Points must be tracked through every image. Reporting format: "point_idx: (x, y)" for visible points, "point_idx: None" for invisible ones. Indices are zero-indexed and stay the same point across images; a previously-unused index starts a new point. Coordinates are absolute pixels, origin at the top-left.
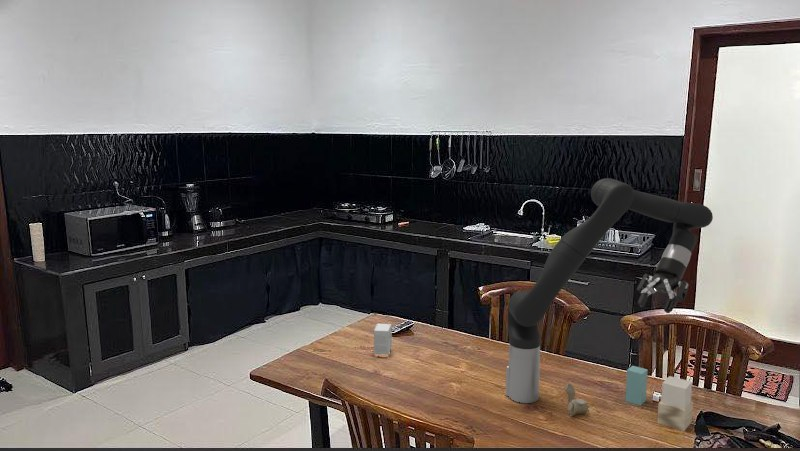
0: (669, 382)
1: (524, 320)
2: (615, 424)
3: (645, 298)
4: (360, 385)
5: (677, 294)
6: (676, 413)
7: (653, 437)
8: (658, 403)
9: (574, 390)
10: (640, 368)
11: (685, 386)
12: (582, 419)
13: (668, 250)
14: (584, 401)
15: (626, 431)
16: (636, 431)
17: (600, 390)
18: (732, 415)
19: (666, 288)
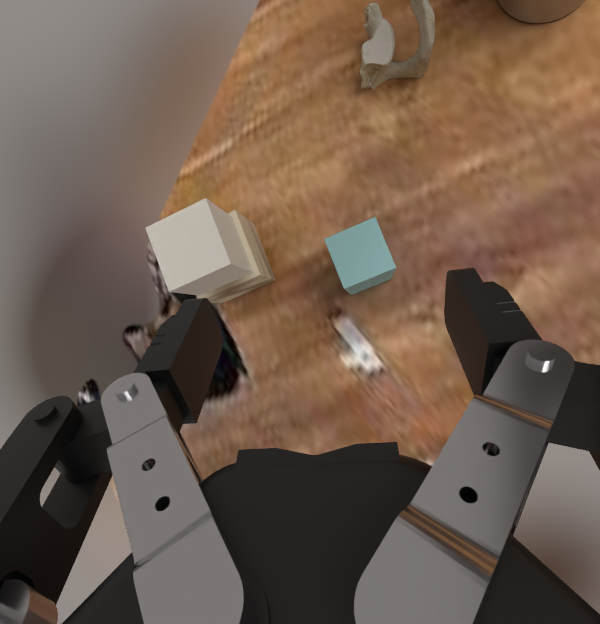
0: (197, 221)
1: None
2: (294, 124)
3: (471, 355)
4: None
5: (48, 433)
6: None
7: (213, 163)
8: (235, 210)
9: (424, 52)
10: (363, 273)
11: (156, 242)
12: (351, 63)
13: None
14: (372, 62)
15: (258, 125)
16: (248, 147)
17: (463, 227)
18: None
19: (179, 454)
